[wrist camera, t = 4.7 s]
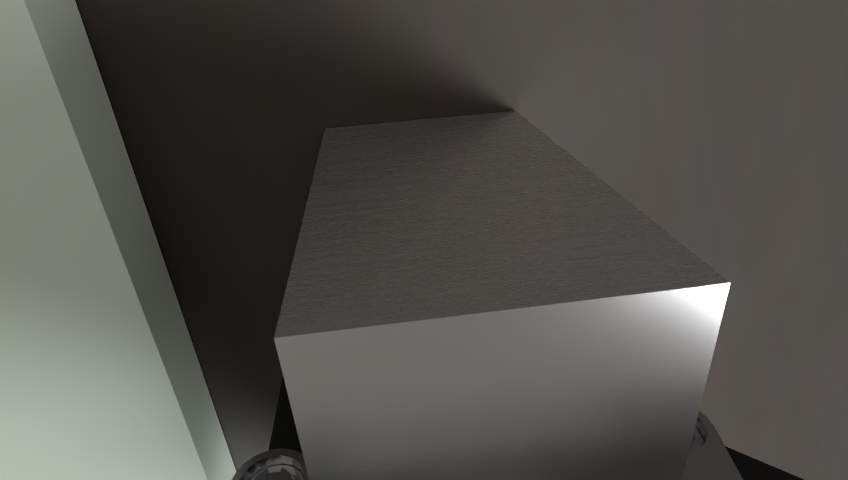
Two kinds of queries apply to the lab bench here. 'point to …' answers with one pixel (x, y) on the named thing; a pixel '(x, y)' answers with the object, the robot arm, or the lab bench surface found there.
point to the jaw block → (488, 313)
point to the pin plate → (85, 281)
